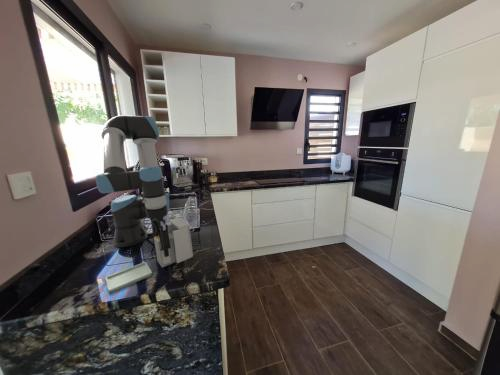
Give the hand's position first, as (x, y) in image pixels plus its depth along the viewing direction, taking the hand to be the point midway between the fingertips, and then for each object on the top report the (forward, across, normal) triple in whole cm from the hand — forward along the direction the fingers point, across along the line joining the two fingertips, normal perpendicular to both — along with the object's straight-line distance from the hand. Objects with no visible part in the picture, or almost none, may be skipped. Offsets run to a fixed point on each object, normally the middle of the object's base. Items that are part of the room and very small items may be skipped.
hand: (164, 259), depth 81 cm
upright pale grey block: (+2, 0, +3) cm, 3 cm away
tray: (+1, 0, -13) cm, 13 cm away
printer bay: (+1, -1, +7) cm, 7 cm away
